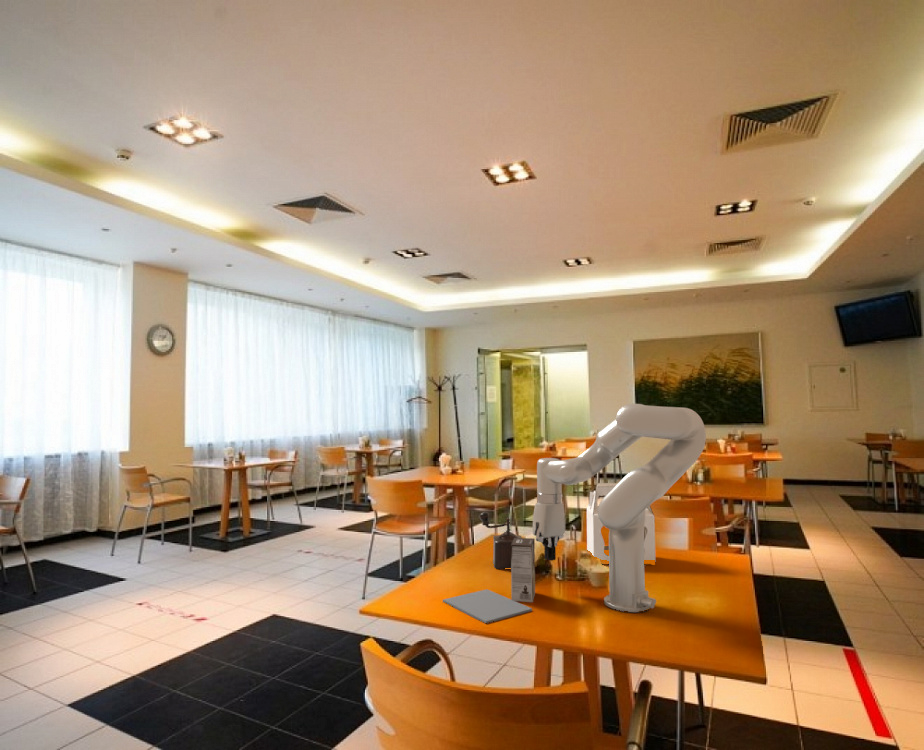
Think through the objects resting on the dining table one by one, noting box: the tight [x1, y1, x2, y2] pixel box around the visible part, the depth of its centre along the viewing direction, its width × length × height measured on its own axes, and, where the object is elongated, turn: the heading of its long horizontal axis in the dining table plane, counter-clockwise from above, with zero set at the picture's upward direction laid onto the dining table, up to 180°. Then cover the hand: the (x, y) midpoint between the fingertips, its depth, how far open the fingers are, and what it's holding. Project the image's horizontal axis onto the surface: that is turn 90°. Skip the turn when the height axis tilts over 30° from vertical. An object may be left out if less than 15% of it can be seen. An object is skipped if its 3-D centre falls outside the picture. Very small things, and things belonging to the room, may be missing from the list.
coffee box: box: [510, 537, 536, 603], centre depth 161 cm, size 9×6×16 cm
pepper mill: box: [478, 511, 523, 570], centre depth 195 cm, size 16×11×18 cm
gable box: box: [586, 482, 656, 561], centre depth 202 cm, size 22×13×28 cm, turn 87°
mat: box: [442, 588, 533, 624], centre depth 152 cm, size 20×16×1 cm
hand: (550, 559), depth 167 cm, fingers closed
